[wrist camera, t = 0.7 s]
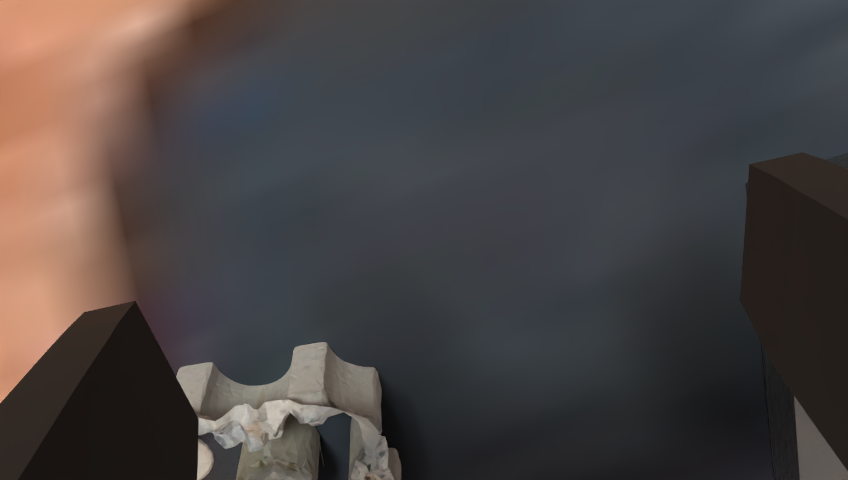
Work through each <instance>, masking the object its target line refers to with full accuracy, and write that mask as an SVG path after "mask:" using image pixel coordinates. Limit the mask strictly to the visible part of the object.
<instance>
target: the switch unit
mask: <svg viewBox="0 0 848 480" xmlns="http://www.w3.org/2000/svg"><path fill="white" fill-rule="evenodd" d="M826 161H829V162H832V163H834V164H837V165H839V166H842V167H845V168H847V169H848V154H847V155H843V156H840V157H837V158H833V159H830V160H826ZM746 184H747V193H748V183H746ZM761 344H762V342H761ZM762 354H763V365H764V376H765V386H766V397H767V407H768V418H769V429H770V439H771V450H772V461H773V471H774V477H775V478H776V480H848V471H847V470H846V468H845V467H844V465H843V464H842V463H841V461H840V460H839V458H838V457H837V456H836V454H835V453H834V451H833V450H832V449H831V447H830V446H829V444H828V443H827V442H826V440H825V439H824V437H823V436H822V435H821V433H820V432H819V430H818V429H817V428H816V426H815V425H814V423H813V422H812V420H811V419H810V418H809V416H808V415H807V413H806V412H805V410H804V409H803V408H802V406H801V405H800V403H799V402H798V401H797V399H796V398H795V396H794V395H793V393H792V392H791V391H790V389H789V388H788V386H787V385H786V383H785V382H784V380H783V379H782V377H781V376H780V374H779V373H778V372H777V370H776V368H775V366H774V364H773V362H772V360H771V359H770V357H769V355H768V353H767V351H766V349H765V348H764V346H763V344H762Z"/></svg>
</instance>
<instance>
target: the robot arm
mask: <svg viewBox="0 0 848 480" xmlns="http://www.w3.org/2000/svg"><path fill="white" fill-rule="evenodd" d="M740 300H741V302H742V304H743V306H744V308H745V310H746V312H747V314H748V316H749V318H750V320H751V322H752V324H753V326H754V328H755V330H756V332H757V334H758V336H759V338H760V340H761V342H762V344H763V346H764V348H765V349H766V351H767V353H768V355H769V357H770V359H771V360H772V362H773V364H774V366H775V368H776V370H777V372H778V373H779V374H780V376H781V377H782V379H783V380H784V382H785V383H786V385H787V386H788V388H789V389H790V391H791V392H792V393H793V395H794V396H795V398H796V399H797V401H798V402H799V403H800V405H801V406H802V408H803V409H804V410H805V412H806V413H807V415H808V416H809V418H810V419H811V420H812V422H813V423H814V425H815V426H816V428H817V429H818V430H819V432H820V433H821V435H822V436H823V437H824V439H825V440H826V442H827V443H828V444H829V446H830V447H831V449H832V450H833V451H834V453H835V454H836V456H837V457H838V458H839V460H840V461H841V463H842V464H843V465H844V467H845V468H846V470H847V471H848V169H847V168H845V167H842V166H839V165H837V164H834V163H832V162H829V161H826V160H823V159H821V158H817V157H814V156H811V155H808V154H805V153H798V154H794V155H789V156H785V157H780V158H776V159H771V160H767V161H762V162H758V163H753V164H749V179H748V193H747V208H746V223H745V238H744V252H743V267H742V282H741V296H740ZM198 426H199V419H198V417H197V415H196V413H195V411H194V409H193V408H192V406H191V404H190V402H189V400H188V398H187V396H186V395H185V393H184V391H183V389H182V387H181V385H180V383H179V381H178V380H177V378H176V376H175V374H174V372H173V370H172V368H171V367H170V365H169V363H168V361H167V359H166V357H165V355H164V354H163V352H162V350H161V348H160V346H159V344H158V342H157V341H156V339H155V337H154V335H153V333H152V331H151V329H150V328H149V326H148V324H147V322H146V320H145V318H144V316H143V314H142V313H141V311H140V309H139V307H138V305H137V303H136V301H133V302H129V303H124V304H120V305H115V306H111V307H106V308H102V309H97V310H93V311H88V312H84V313H83V314H82V315H81V316H80V317H79V318H78V319H77V320H76V321H75V322H74V323H73V324H72V325H71V326H70V327H69V328H68V329H67V330H66V331H65V332H64V333H63V334H62V335H61V336H60V337H59V338H58V340H57V341H56V342H55V343H54V344H53V345H52V346H51V347H50V348H49V349H48V351H47V352H46V353H45V354H44V355H43V356H42V357H41V358H40V359H39V361H38V362H37V363H36V364H35V365H34V366H33V367H32V368H31V370H30V371H29V372H28V373H27V374H26V375H25V376H24V377H23V379H22V380H21V381H20V382H19V383H18V384H17V385H16V386H15V388H14V389H13V390H12V391H11V392H10V393H9V394H8V396H7V397H6V398H5V399H4V400H3V401H2V402H1V403H0V480H197V470H198Z"/></svg>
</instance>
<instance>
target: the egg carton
mask: <svg viewBox="0 0 848 480" xmlns="http://www.w3.org/2000/svg"><path fill="white" fill-rule="evenodd" d="M176 378H177V380H178V381H179V383H180V385H181V387H182V389H183V391H184V393H185V395H186V396H187V398H188V400H189V402H190V404H191V406H192V408H193V409H194V411H195V413H196V415H197V417H198V419H199V426H198V436H199V435H204V434H206V433H208V432H212V433H213V434H214V438H215V440H216V441H217V442H218V443H219V444H220V445H222V446H223V447H224V448H225V449H227V448H230V447H234V446H236V445H237V444H239V443H240V442H243V445H242V451H241V456H240V461H239V466H238V471H237V476H236V480H317V479H318V466H319V449H320V450H321V446H320V434H319V433H318V431H317V429H316V427H315V426H318V425H323V423H324V422H325V420H326V419H327V417H330V416H333V415H336V414H339V413H343V412H345V413H346V414H347V415H349V416H351V417H352V420H351V430H350V462H349V477H348V480H401V470H402V468H401V462H400V459H399V456H398V452H397V450H396V449H395V448H388V446H387V441H386V438H385V437H384V436H381V433H382V426H381V420H382V418H381V397H382V388H381V384H380V381H379V376H378V372H377V371H376V369H375V368H374V367H362V366H356V365H353V364H350V363H347V362H344V361H343V360H341V359H340V358H339V357H337V356H336V355H335V354H334V352H333V351H332V350H331V349H330V347H329V345H328V343H326V342H320V343H313V344H308V345H303V346H298V347H295V349H294V351H293V357H292V363H291V366H290V368H289V370H288V372H287V373H286V374H285V375H284V376H283V377H282V378H281V379H279V380H277V381H276V382H273V383H271V384H267V385H260V386H246V385H242V384H239V383H236V382H234V381H232V380H230V379H229V378H227V377H225V376H224V375H223V374H222V373H221V372H220V371H219V370H218V369H217V367H216V366H215V365H214V364H213V363H211V362H208V363H201V364H196V365H190V366H185V367H182V368H180V369H179V371H178V374H177V377H176ZM321 455H322V452H321ZM322 460H323V458H322ZM213 463H214V457H213V452H212V451H211V449H210V448H209V446H208V445H207V444H206V443H204V442H203V441H202V440H200V439H199V438H198V470H197V480H202V479H203V478H204V477H205V476H206V475H207V474H208V473H209V472H210V470H211V469H212V468H213ZM323 465H324V464H323ZM324 470H325V469H324Z"/></svg>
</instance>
